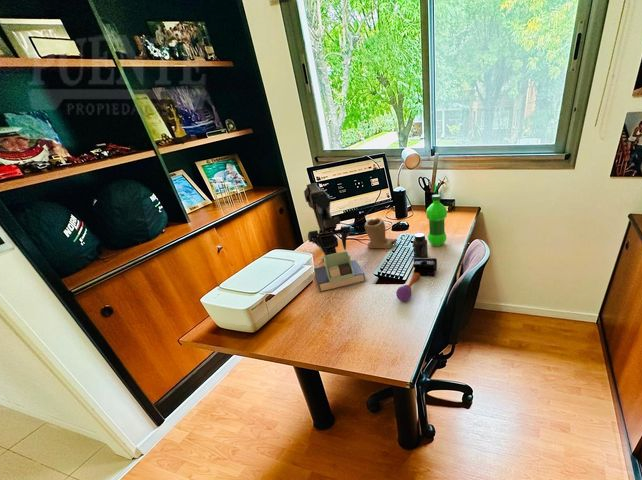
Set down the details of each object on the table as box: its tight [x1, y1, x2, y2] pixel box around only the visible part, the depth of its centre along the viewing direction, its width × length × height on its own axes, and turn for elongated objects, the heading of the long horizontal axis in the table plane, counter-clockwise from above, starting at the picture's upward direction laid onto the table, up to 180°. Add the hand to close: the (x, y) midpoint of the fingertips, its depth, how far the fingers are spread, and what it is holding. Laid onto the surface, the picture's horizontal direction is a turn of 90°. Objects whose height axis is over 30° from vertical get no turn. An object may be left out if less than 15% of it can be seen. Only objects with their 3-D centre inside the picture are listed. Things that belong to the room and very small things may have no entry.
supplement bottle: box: [412, 232, 429, 259], centre depth 156 cm, size 7×7×12 cm
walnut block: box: [339, 263, 351, 276], centre depth 140 cm, size 4×4×4 cm
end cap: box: [412, 257, 438, 278], centre depth 145 cm, size 10×7×7 cm
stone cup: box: [364, 217, 398, 249], centre depth 170 cm, size 15×12×15 cm
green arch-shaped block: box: [322, 250, 354, 283], centre depth 138 cm, size 6×11×10 cm, turn 110°
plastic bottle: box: [425, 194, 448, 247], centre depth 164 cm, size 10×10×25 cm
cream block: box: [328, 265, 341, 278], centre depth 139 cm, size 4×4×4 cm
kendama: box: [395, 272, 421, 302], centre depth 133 cm, size 6×6×20 cm
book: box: [313, 259, 366, 293], centre depth 147 cm, size 16×20×4 cm
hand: (335, 251), depth 143 cm, fingers open, 9 cm apart
